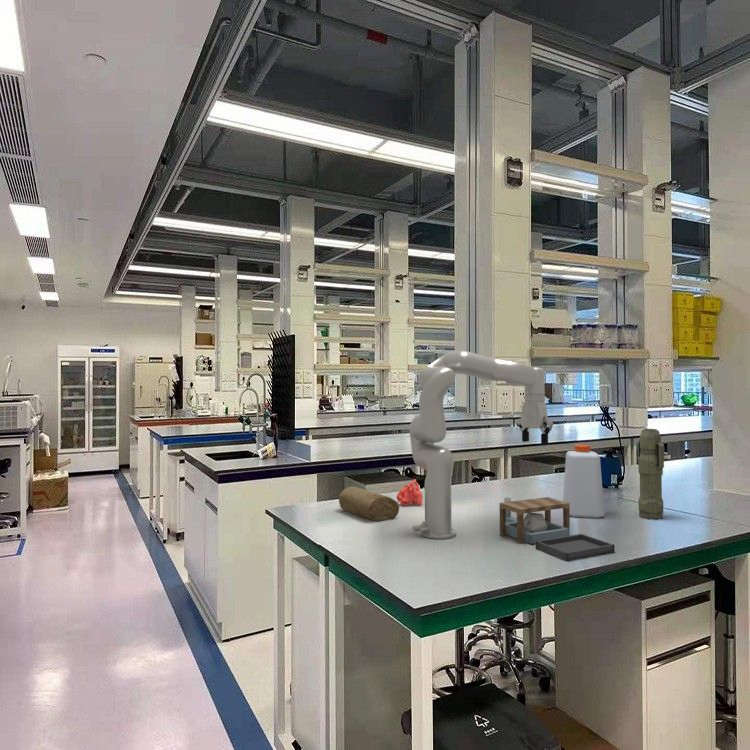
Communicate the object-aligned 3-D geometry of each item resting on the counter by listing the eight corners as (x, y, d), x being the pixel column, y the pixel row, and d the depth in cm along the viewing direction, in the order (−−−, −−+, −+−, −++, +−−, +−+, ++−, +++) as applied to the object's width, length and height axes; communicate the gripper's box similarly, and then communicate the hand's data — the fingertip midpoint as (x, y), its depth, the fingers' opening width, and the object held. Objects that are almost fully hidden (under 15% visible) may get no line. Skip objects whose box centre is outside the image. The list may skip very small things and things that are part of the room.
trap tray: (566, 561, 171) (566, 553, 171) (535, 548, 184) (535, 541, 184) (614, 552, 179) (614, 544, 179) (581, 540, 192) (581, 533, 192)
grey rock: (519, 533, 203) (515, 516, 198) (536, 520, 206) (533, 502, 201) (535, 547, 197) (532, 529, 192) (553, 533, 200) (550, 515, 194)
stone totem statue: (656, 521, 216) (656, 431, 217) (630, 515, 227) (630, 428, 227) (672, 519, 220) (671, 430, 220) (645, 512, 231) (645, 427, 231)
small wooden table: (520, 543, 189) (519, 509, 189) (499, 535, 199) (499, 503, 199) (569, 535, 198) (569, 503, 198) (547, 528, 208) (547, 497, 208)
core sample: (363, 506, 245) (363, 483, 246) (400, 519, 224) (399, 494, 224) (335, 511, 238) (335, 487, 238) (370, 524, 216) (370, 498, 216)
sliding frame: (569, 537, 195) (569, 508, 195) (530, 543, 188) (530, 513, 188) (523, 521, 217) (523, 495, 217) (487, 526, 210) (487, 499, 210)
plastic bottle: (606, 519, 221) (605, 448, 221) (566, 517, 224) (565, 447, 224) (599, 510, 236) (598, 443, 236) (561, 508, 239) (560, 442, 239)
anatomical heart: (395, 509, 246) (391, 482, 249) (417, 506, 252) (413, 480, 255) (406, 507, 239) (402, 480, 241) (429, 504, 245) (425, 477, 248)
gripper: (511, 398, 225) (511, 441, 225) (545, 399, 210) (545, 445, 210) (524, 398, 229) (525, 440, 229) (558, 399, 214) (559, 444, 214)
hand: (534, 442), depth 219 cm, fingers open, 9 cm apart
